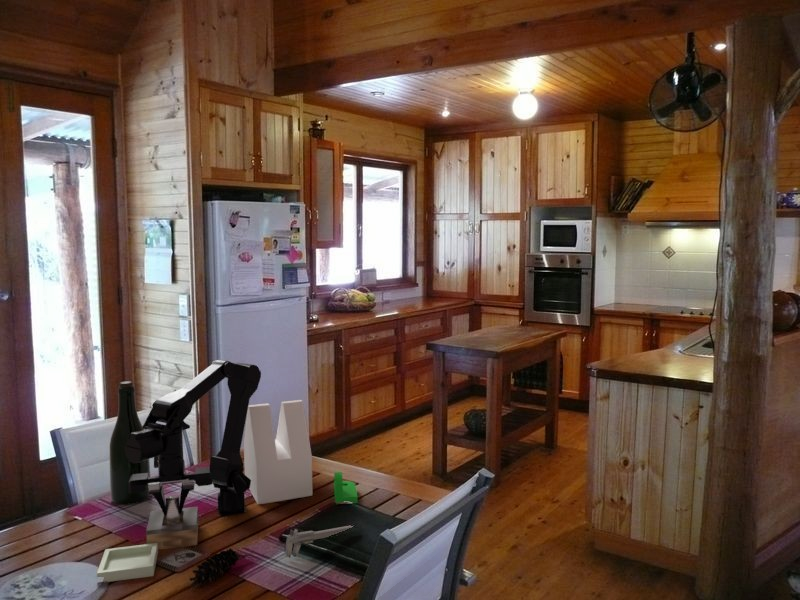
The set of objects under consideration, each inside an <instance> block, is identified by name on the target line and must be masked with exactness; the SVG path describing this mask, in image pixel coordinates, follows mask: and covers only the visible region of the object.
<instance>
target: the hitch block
mask: <svg viewBox="0 0 800 600" xmlns="http://www.w3.org/2000/svg"><path fill="white" fill-rule="evenodd" d="M147 523H148V524H147V526H146V530H145V532H146V533H145V535H146V536H145V537H146V544H152V543H158V551H159V550H166V549H175V548H184V547H191V546H197V545H198V539H199V538H198V537H199V507H198V505H197V506H191V507H190V506H189V507H183V509H182V513H181V514H180V524H174V525H167V517H166V516H165V515H164V513H163V511H162V509H161V510H155V511H154V510H152V511H150V515H149V518H148V522H147Z"/></svg>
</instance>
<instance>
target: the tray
mask: <svg viewBox="0 0 800 600" xmlns="http://www.w3.org/2000/svg"><path fill="white" fill-rule="evenodd" d="M158 554H159V550H158V543H152V544H147V543H144V544H139V545H130V546H121V547H114V548H105V550H104V552H103V555H102V558H101V561H100V563H99V566H98V569H97V571H96V578H97V577H104V579H105V580H106V581H107V582H106V583H108V582H110V583H111V582H116V581H125V580H131V579H133V580H134V579H139V578H140V579H141V578H147V577H148V578H149V577H154V574H155V571H156V564H157V559H158Z"/></svg>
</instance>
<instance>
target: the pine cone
mask: <svg viewBox="0 0 800 600" xmlns="http://www.w3.org/2000/svg"><path fill="white" fill-rule="evenodd" d="M251 555H252V553H247V554H244V555H243V554H240V553H239V552H238V551H236V550H233V549H232V548H231V547H230V548H228V549H227V550H221V551H220V552H219V553H214V554H212V555H211V556H210V557H206V558H205V560H203V561H202V562H201V563H200V564H197V565H196V567H197V568H198V569H194V570H192V574H194V575H195V576H194V577H189V579H188V580H189V582H192V583H191V584H190V585H189V587H192V589H194V588H195V587H196V586H198V587H200V586H202V587H204V586H205V584H207V583H209V584H210V583H212V582H215V581H216V579H217V575H219V576H223V575H224V572H225V570H228V571H231V570H232V567H233V566H234V567H236V563H237V562H238V560H240V558H244V559H245V558H246V557H248V556H251Z"/></svg>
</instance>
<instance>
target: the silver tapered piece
mask: <svg viewBox="0 0 800 600" xmlns="http://www.w3.org/2000/svg"><path fill="white" fill-rule="evenodd" d="M165 502H166V517H167V525H174V524H180V514H179V505H180V496H178V495H169V496H166V497H165Z"/></svg>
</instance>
